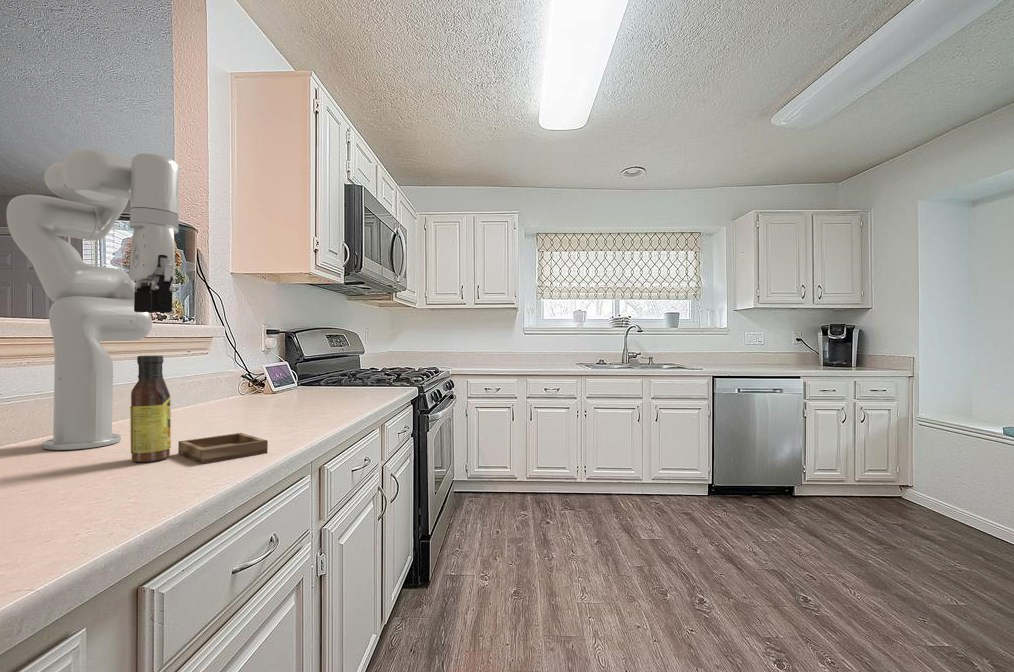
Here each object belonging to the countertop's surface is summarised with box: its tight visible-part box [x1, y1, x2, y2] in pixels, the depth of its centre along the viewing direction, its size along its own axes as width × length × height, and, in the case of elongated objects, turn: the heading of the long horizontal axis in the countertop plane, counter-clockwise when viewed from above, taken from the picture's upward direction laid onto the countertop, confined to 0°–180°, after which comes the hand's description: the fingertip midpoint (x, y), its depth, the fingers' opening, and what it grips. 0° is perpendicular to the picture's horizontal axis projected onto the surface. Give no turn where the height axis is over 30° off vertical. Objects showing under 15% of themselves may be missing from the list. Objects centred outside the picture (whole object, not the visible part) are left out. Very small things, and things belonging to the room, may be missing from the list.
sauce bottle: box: [129, 354, 172, 463], centre depth 94 cm, size 7×6×20 cm
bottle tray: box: [177, 432, 268, 465], centre depth 99 cm, size 12×12×2 cm
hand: (152, 312), depth 94 cm, fingers open, 9 cm apart
